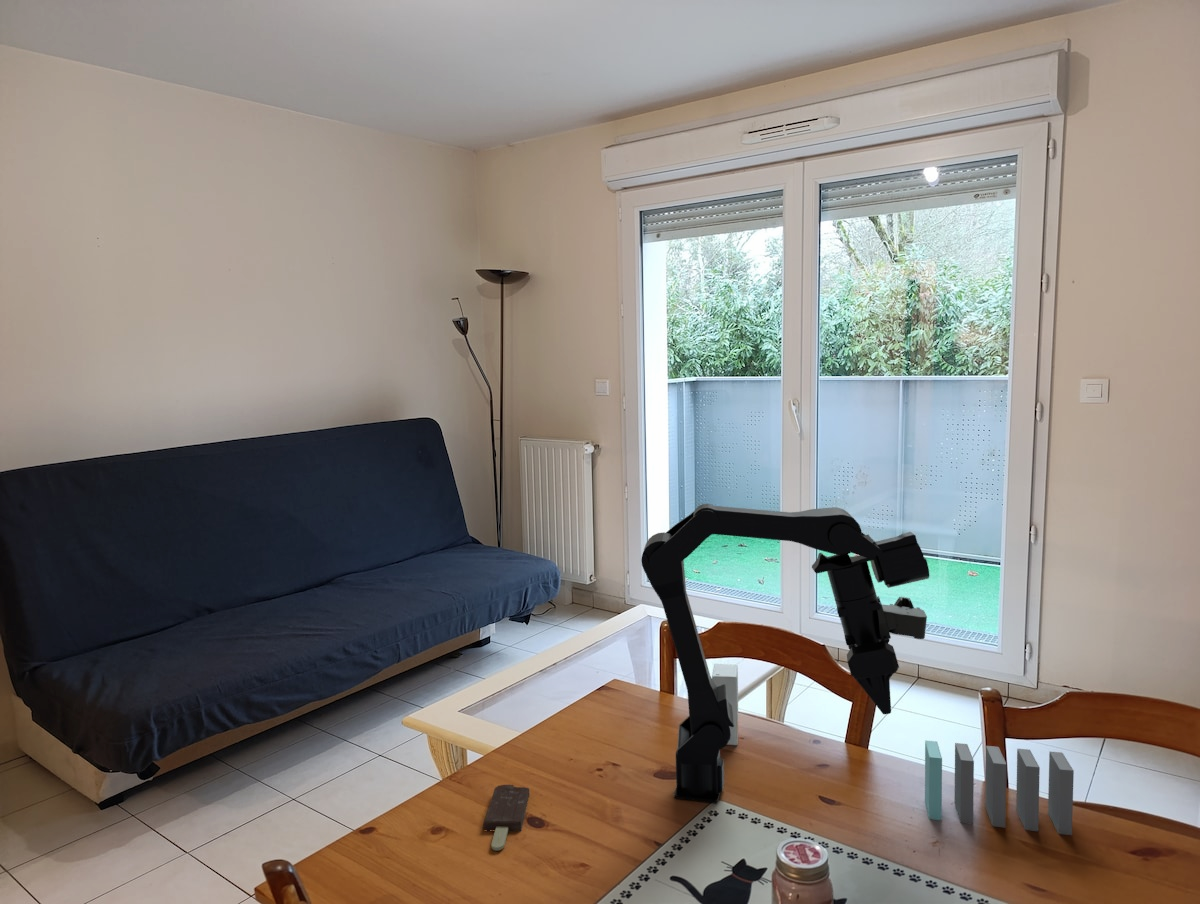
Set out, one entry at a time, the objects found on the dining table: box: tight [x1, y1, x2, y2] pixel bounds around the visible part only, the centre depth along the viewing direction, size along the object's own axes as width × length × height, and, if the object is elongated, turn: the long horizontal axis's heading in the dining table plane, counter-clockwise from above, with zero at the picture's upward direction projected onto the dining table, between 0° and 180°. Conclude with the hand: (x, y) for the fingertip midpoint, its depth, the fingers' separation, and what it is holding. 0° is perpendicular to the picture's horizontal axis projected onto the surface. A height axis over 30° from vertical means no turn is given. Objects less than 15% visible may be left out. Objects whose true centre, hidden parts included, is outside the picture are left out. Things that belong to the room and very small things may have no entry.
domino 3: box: [1015, 748, 1040, 832], centre depth 106 cm, size 2×5×9 cm, turn 164°
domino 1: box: [953, 742, 975, 825], centre depth 109 cm, size 2×5×9 cm, turn 164°
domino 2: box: [984, 745, 1008, 828], centre depth 107 cm, size 2×5×9 cm, turn 164°
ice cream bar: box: [483, 784, 530, 852], centre depth 111 cm, size 5×2×15 cm
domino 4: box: [1047, 751, 1075, 836], centre depth 105 cm, size 2×5×9 cm, turn 164°
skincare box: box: [711, 663, 739, 746], centre depth 133 cm, size 6×4×12 cm
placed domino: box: [924, 740, 943, 821], centre depth 110 cm, size 2×5×9 cm, turn 164°
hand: (884, 701), depth 111 cm, fingers open, 9 cm apart
